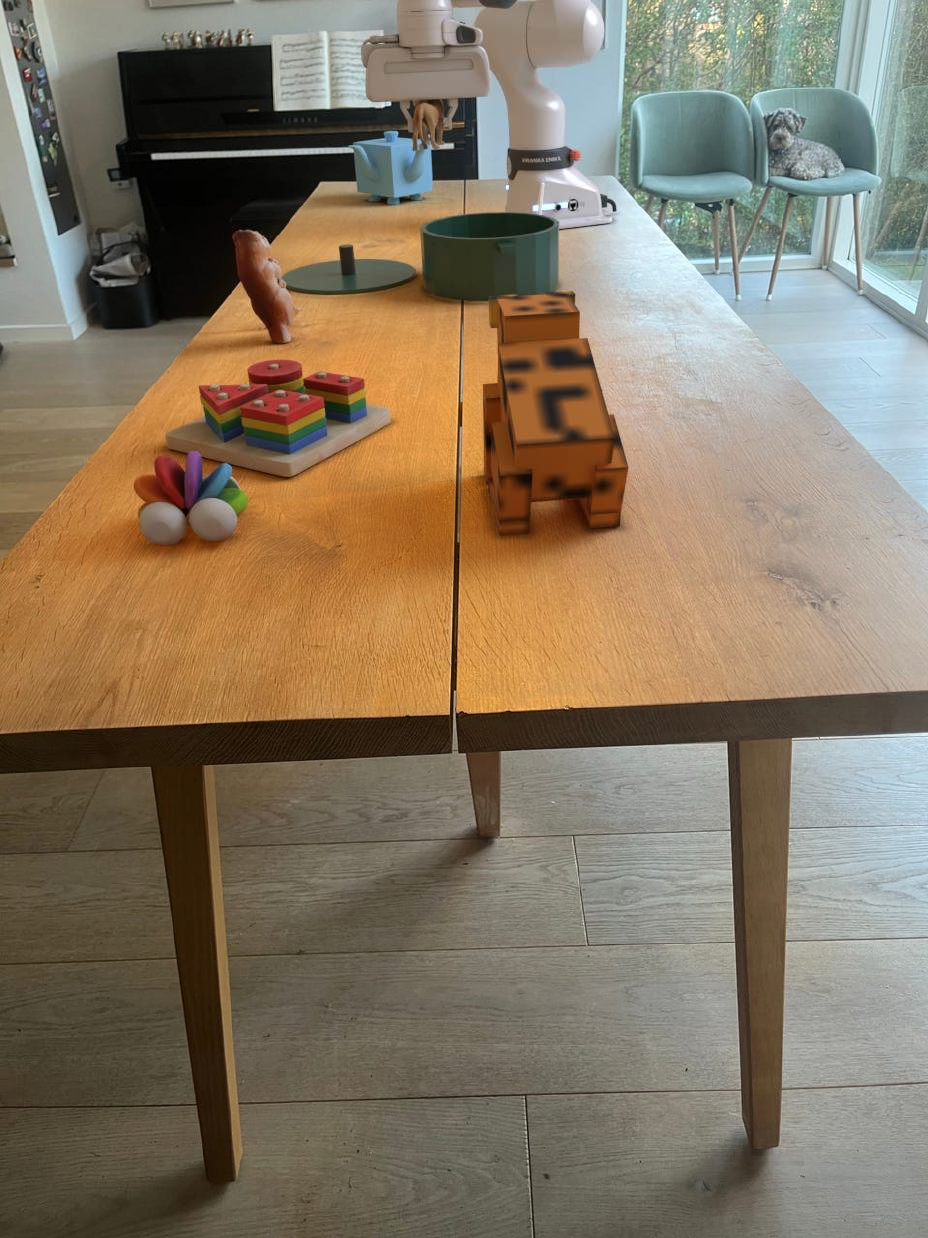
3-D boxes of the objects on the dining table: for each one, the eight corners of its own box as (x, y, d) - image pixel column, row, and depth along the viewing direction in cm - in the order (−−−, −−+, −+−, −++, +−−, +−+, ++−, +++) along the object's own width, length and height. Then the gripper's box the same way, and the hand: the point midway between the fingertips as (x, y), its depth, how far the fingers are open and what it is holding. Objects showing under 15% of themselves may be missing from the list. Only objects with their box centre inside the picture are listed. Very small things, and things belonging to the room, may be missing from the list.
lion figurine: (414, 143, 169) (411, 83, 164) (445, 141, 169) (443, 82, 164) (411, 153, 157) (407, 89, 152) (444, 152, 157) (441, 88, 152)
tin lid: (406, 261, 178) (404, 228, 175) (425, 291, 159) (423, 254, 156) (280, 271, 175) (276, 237, 172) (283, 303, 156) (278, 265, 153)
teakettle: (362, 194, 243) (356, 128, 235) (438, 191, 242) (434, 125, 234) (352, 208, 227) (346, 137, 219) (433, 205, 226) (429, 134, 218)
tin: (535, 263, 172) (536, 205, 167) (578, 301, 150) (580, 235, 145) (413, 273, 169) (410, 214, 164) (438, 313, 147) (434, 247, 142)
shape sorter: (289, 479, 97) (281, 420, 94) (165, 449, 105) (153, 393, 102) (393, 422, 109) (388, 368, 106) (274, 398, 117) (267, 348, 114)
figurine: (308, 335, 140) (294, 223, 132) (278, 350, 134) (262, 234, 126) (272, 331, 142) (256, 221, 134) (241, 346, 136) (222, 232, 128)
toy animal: (502, 547, 83) (498, 361, 75) (479, 456, 100) (474, 296, 92) (625, 538, 84) (635, 353, 75) (582, 449, 101) (586, 289, 92)
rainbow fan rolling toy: (151, 511, 92) (134, 438, 88) (255, 504, 92) (243, 431, 88) (133, 554, 85) (113, 476, 81) (246, 546, 85) (232, 468, 81)
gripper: (361, 36, 151) (369, 135, 158) (492, 30, 154) (493, 128, 161) (358, 35, 156) (365, 132, 164) (484, 30, 159) (486, 125, 166)
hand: (430, 130), depth 162 cm, fingers closed on lion figurine, 4 cm apart
